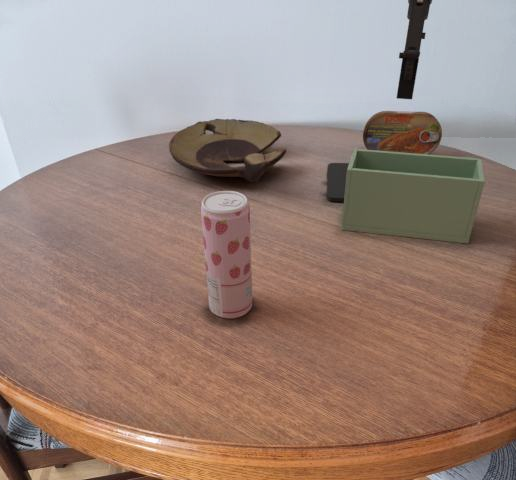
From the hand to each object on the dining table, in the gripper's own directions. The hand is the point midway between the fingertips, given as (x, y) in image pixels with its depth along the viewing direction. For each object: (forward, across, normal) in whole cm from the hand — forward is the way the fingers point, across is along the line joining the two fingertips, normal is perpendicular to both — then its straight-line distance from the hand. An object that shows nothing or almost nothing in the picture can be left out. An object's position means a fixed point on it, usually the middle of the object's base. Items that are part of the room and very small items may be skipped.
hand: (406, 87), depth 101 cm
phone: (+13, +16, -8) cm, 22 cm away
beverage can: (+13, +57, -18) cm, 61 cm away
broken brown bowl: (+13, +15, -31) cm, 37 cm away
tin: (+13, 0, +1) cm, 13 cm away
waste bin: (+13, +29, +3) cm, 32 cm away
